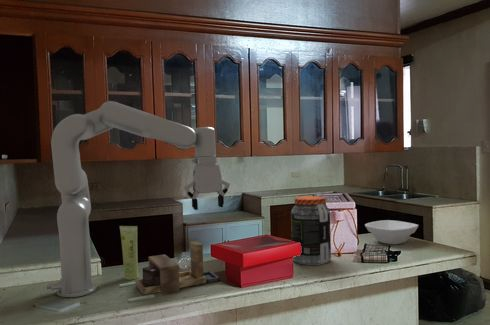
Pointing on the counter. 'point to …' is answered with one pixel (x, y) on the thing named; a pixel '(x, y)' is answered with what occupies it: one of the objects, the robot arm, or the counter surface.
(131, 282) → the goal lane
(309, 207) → the supplement tub
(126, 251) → the tube
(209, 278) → the pit tray
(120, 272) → the counter surface
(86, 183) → the robot arm
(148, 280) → the box
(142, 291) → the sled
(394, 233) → the bowl
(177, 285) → the tunnel
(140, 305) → the counter surface
